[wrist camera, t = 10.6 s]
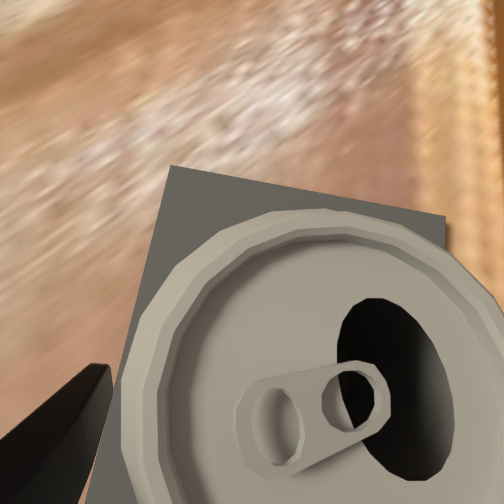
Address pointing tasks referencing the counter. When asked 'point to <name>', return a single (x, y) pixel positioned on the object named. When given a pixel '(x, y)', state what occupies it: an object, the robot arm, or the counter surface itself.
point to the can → (316, 371)
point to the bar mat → (191, 238)
